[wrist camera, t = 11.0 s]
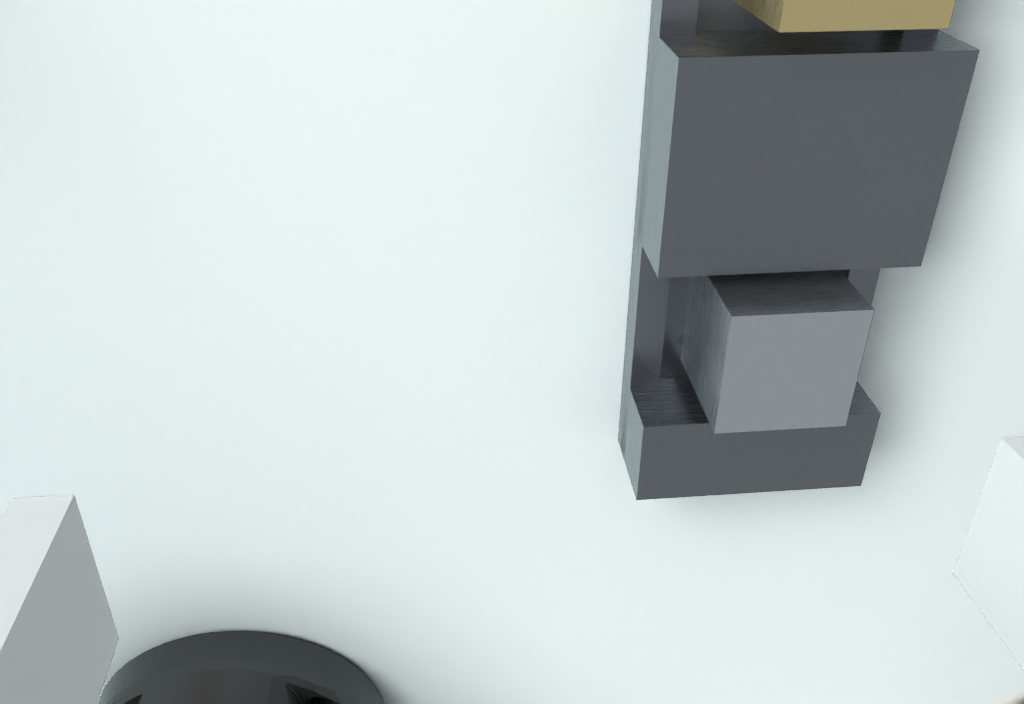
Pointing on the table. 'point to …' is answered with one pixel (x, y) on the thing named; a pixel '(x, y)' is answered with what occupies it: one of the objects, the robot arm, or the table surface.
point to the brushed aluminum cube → (775, 348)
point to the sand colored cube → (851, 14)
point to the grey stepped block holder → (772, 214)
